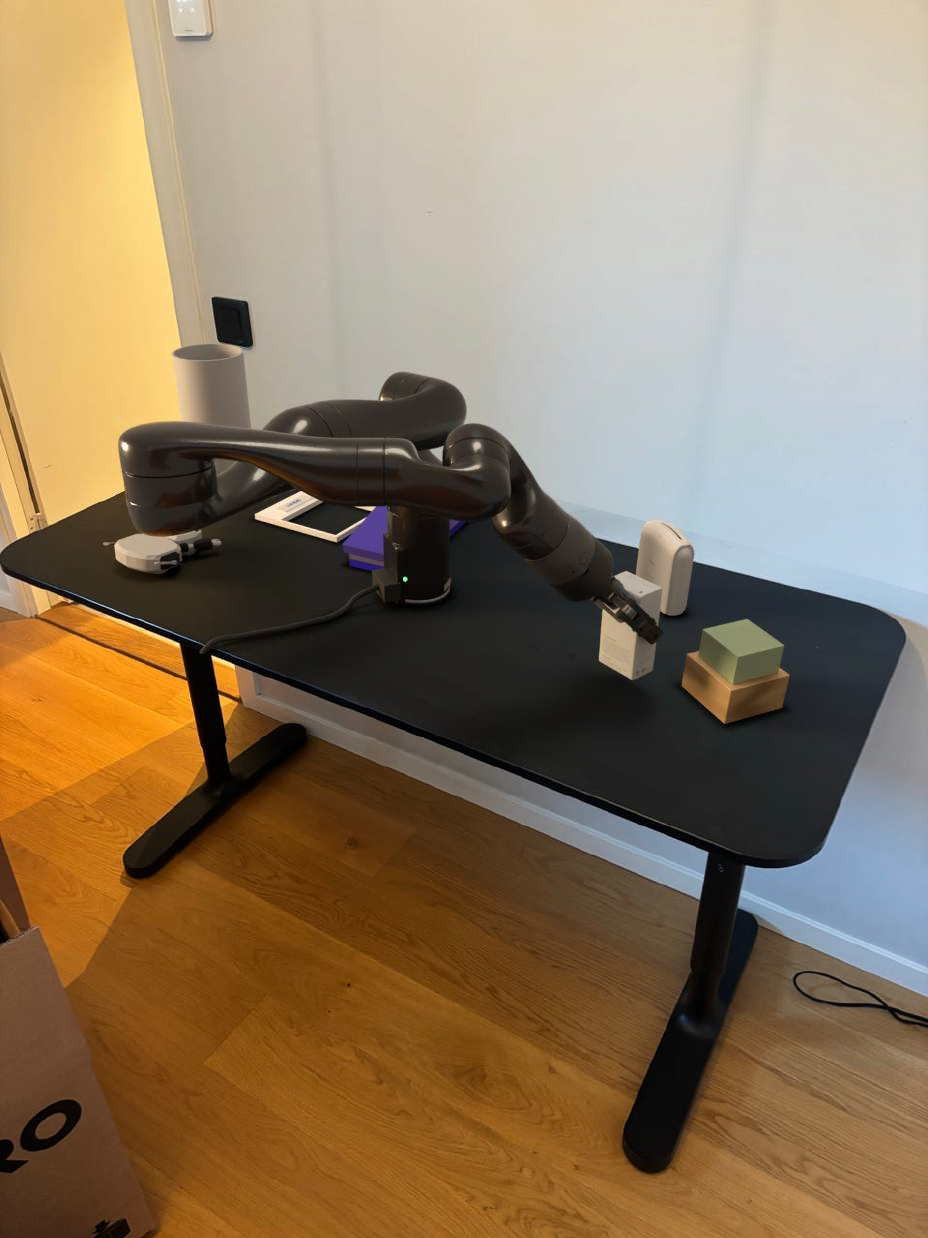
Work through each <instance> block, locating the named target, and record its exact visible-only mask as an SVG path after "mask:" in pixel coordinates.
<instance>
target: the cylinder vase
mask: <svg viewBox="0 0 928 1238" xmlns="http://www.w3.org/2000/svg"><path fill="white" fill-rule="evenodd" d="M171 358H172V365H173V371H174V379H175V387H176V392H177V393H176V394H177V400H178V408H179V413H180V414H179V415H180V421H185V422H197V423H207V424H216V425H224V426H233V427H242V428H251V429H252V424H251V423H252V422H251V415H250V404H249V395H248V386H247V375H246V365H245V364H246V363H245V355H244V349H243V348H242V347H240V346H237V345H234V344H226V343H197V344H191V345H186V346H183V347H178V348H176V349H174V350H173V351H172V352H171ZM235 462H236V461H232V460H225V459H215V466H216V474H217V475H219V474H221V473H222V472H224V471H226V470H227V469H228V468H229V467H231V466H232V465H233V464H234V463H235Z"/></svg>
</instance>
